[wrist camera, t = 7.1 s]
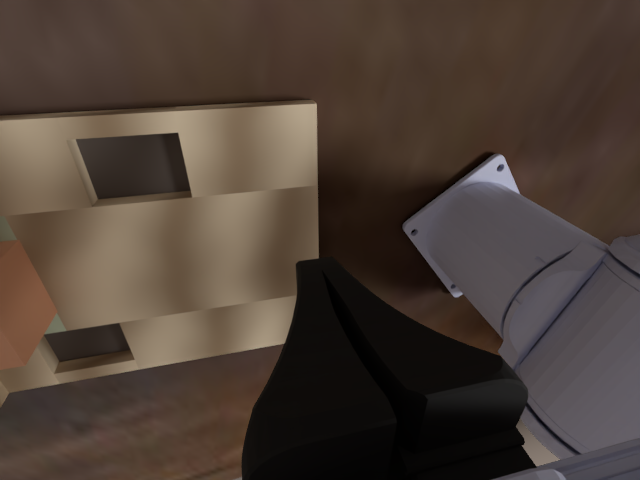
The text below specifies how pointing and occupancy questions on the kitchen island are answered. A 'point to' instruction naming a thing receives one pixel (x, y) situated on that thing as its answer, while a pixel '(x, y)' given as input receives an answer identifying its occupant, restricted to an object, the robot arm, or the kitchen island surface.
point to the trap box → (159, 231)
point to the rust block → (21, 306)
